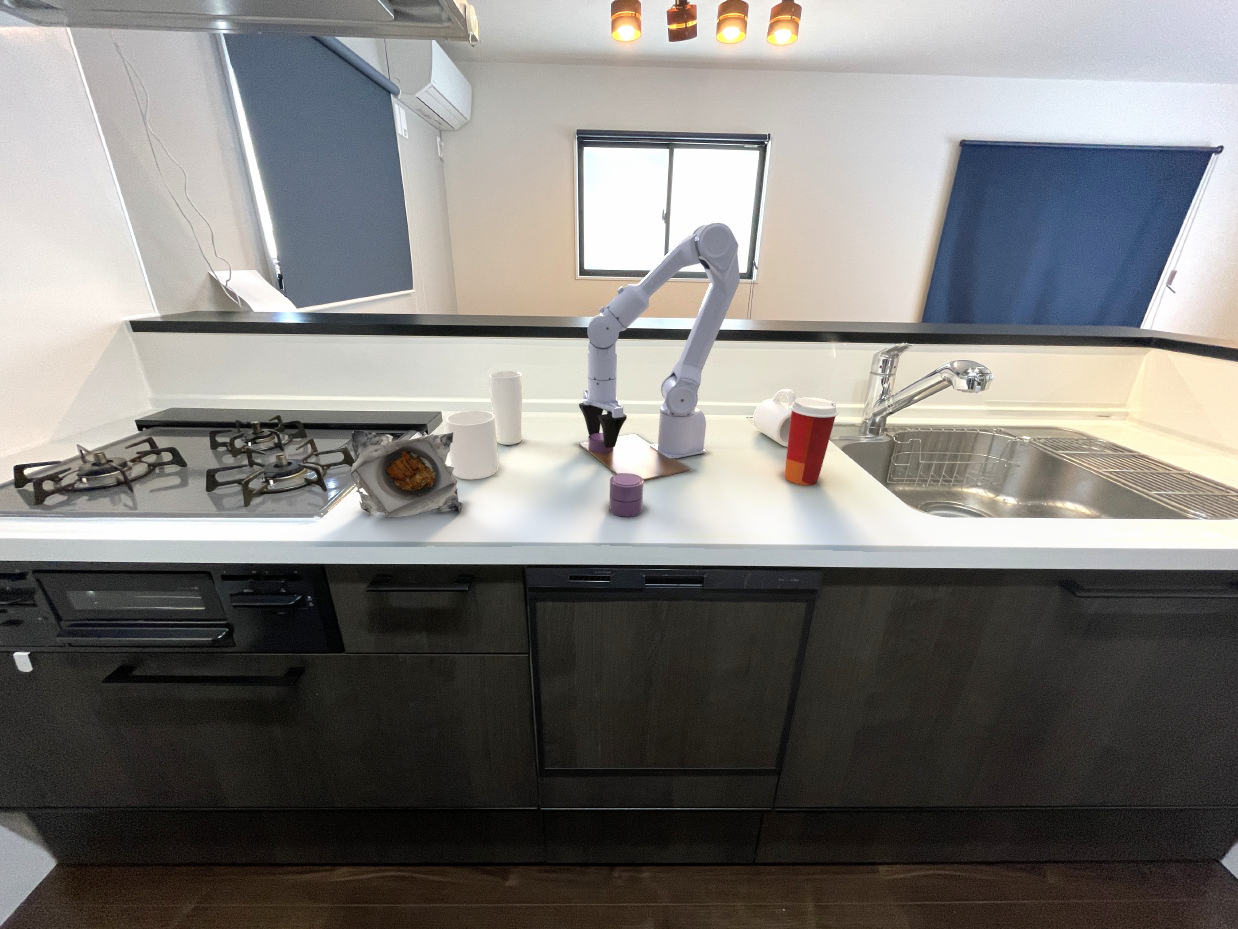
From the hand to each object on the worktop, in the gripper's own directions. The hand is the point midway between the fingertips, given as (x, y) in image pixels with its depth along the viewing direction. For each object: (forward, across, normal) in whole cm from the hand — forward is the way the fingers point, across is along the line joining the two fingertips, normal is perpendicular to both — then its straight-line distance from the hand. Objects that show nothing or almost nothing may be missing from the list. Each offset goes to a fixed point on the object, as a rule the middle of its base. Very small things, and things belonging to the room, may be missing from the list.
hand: (601, 440), depth 104 cm
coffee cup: (+2, +29, +28) cm, 40 cm away
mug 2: (+2, +11, +40) cm, 41 cm away
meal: (+2, +11, -39) cm, 41 cm away
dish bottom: (+2, +25, -8) cm, 26 cm away
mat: (+2, +6, +4) cm, 7 cm away
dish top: (+2, 0, 0) cm, 2 cm away
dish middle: (-1, +25, -8) cm, 26 cm away
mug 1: (+2, -2, -26) cm, 26 cm away
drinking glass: (+2, -13, -16) cm, 21 cm away
